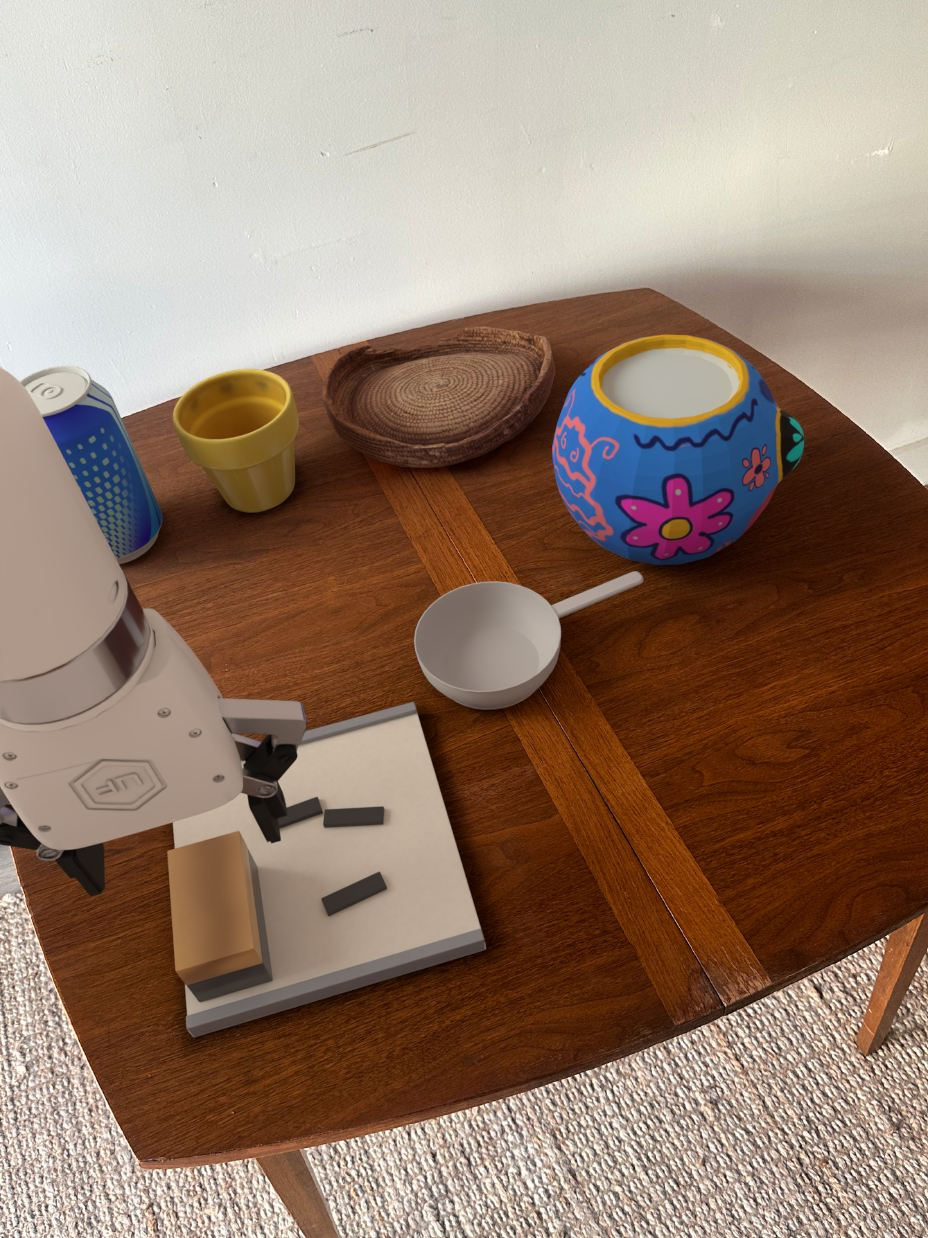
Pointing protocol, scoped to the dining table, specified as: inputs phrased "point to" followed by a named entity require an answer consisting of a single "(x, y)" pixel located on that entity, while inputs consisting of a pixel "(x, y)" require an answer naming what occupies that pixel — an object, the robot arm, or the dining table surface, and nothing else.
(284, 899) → the whiteboard
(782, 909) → the dining table surface
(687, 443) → the ceramic pot
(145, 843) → the dining table surface
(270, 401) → the flower pot
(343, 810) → the marker stroke
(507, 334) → the basket
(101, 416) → the beer can
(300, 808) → the bar
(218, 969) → the eraser
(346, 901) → the block
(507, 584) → the saucepan
